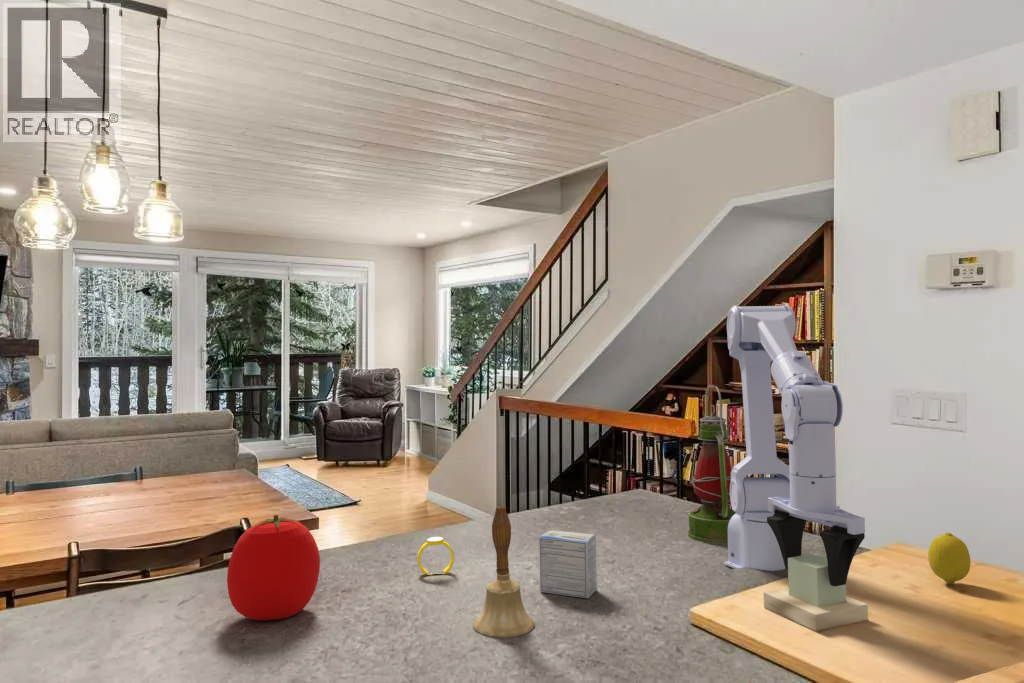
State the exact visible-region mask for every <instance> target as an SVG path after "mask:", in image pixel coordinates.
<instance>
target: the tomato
mask: <svg viewBox="0 0 1024 683" xmlns="http://www.w3.org/2000/svg"><path fill="white" fill-rule="evenodd" d="M314 537H315V536H313V534H312V533H311V531H310V530H309V529H308V527H307V526H305V525H304V524H303V523H302V522H301V521H299V520H296V519H295V520H294V519H291V518H289V517H288V516H287V517H285V516H283V517H279V515H278V514H274V515H273V518H266V519H262V520H260V521H258V522H257V523H256V524H253V525H252V526H250V527H249V528H247V529H246V530H245V531H244V532H243V533H242V534H241V536H240V537H239V538H238V540H237V541H236V543H235V545H234V547H233V550H232V552H231V556H230V557H229V561H228V562H229V563H228V566H227V576H226V583H227V584H226V585H227V593H228V597H229V600H230V603H231V605H232V607H233V608H234V609H235V611H236V613H239V614H240V615H242V616H243V617H245V618H247V619H251V620H255V621H271V620H272V621H275V620H283V619H287V618H290V617H292V616H294V615H296V614H298V613H300V612H301V611H303V610H304V608H305V607H306V606H307V605H308V604H309V603H310V601H311V599H312V598H313V595H314V594H315V592H316V591H315V590H316V588H317V585H318V581H319V576H320V570H321V568H320V567H321V557H320V550H319V547H318V545H317V542H316V540H315V538H314Z"/></svg>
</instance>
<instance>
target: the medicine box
mask: <svg viewBox="0 0 1024 683" xmlns="http://www.w3.org/2000/svg"><path fill="white" fill-rule="evenodd" d="M596 537H597V536H596V535H595V534H592V533H582V532H572V531H561V530H552V529H551V530H548V531H546V532H545V533H543V534H542V535H540V536H539V538H538V547H539V548H538V550H539V551H538V552H539V554H538V555H539V557H538V558H539V559H538V560H539V592H540V593H546V594H552V595H558V596H559V595H560V596H567V597H573V598H580V599H589V598H590V597H591V596H592V595H593V594H594V593H595V592H596V591H597V590H598V578H597V576H598V575H597V544H596V543H597V538H596Z"/></svg>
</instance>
